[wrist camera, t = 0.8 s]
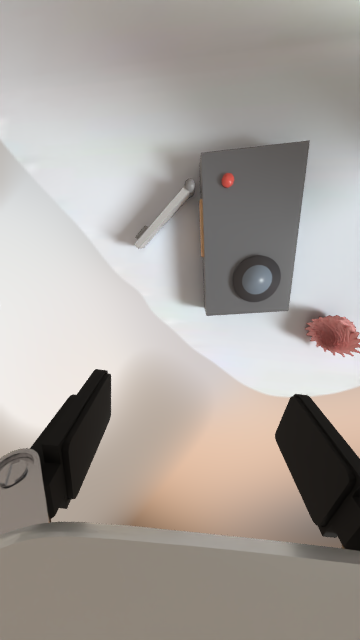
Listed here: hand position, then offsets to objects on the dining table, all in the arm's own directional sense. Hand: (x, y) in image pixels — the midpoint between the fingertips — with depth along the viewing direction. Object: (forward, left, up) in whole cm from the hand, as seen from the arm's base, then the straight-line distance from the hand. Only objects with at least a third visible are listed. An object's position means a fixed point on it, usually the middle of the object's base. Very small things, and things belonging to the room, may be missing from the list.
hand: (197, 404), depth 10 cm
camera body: (-8, -7, -24) cm, 26 cm away
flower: (-22, +8, -24) cm, 34 cm away
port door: (+3, -11, -24) cm, 27 cm away
